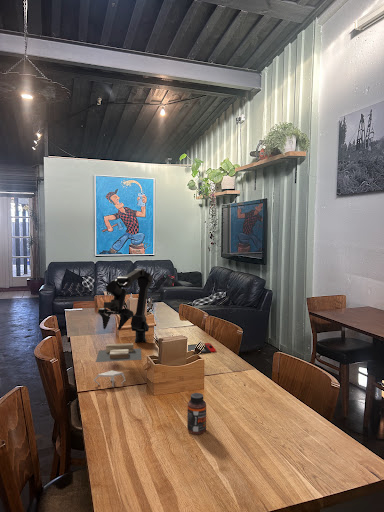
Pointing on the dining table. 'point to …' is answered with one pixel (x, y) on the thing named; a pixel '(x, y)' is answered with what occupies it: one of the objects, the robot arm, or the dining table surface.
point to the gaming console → (207, 348)
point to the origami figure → (110, 374)
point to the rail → (119, 347)
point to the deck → (119, 353)
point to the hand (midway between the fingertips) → (111, 329)
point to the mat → (106, 357)
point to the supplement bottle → (196, 414)
